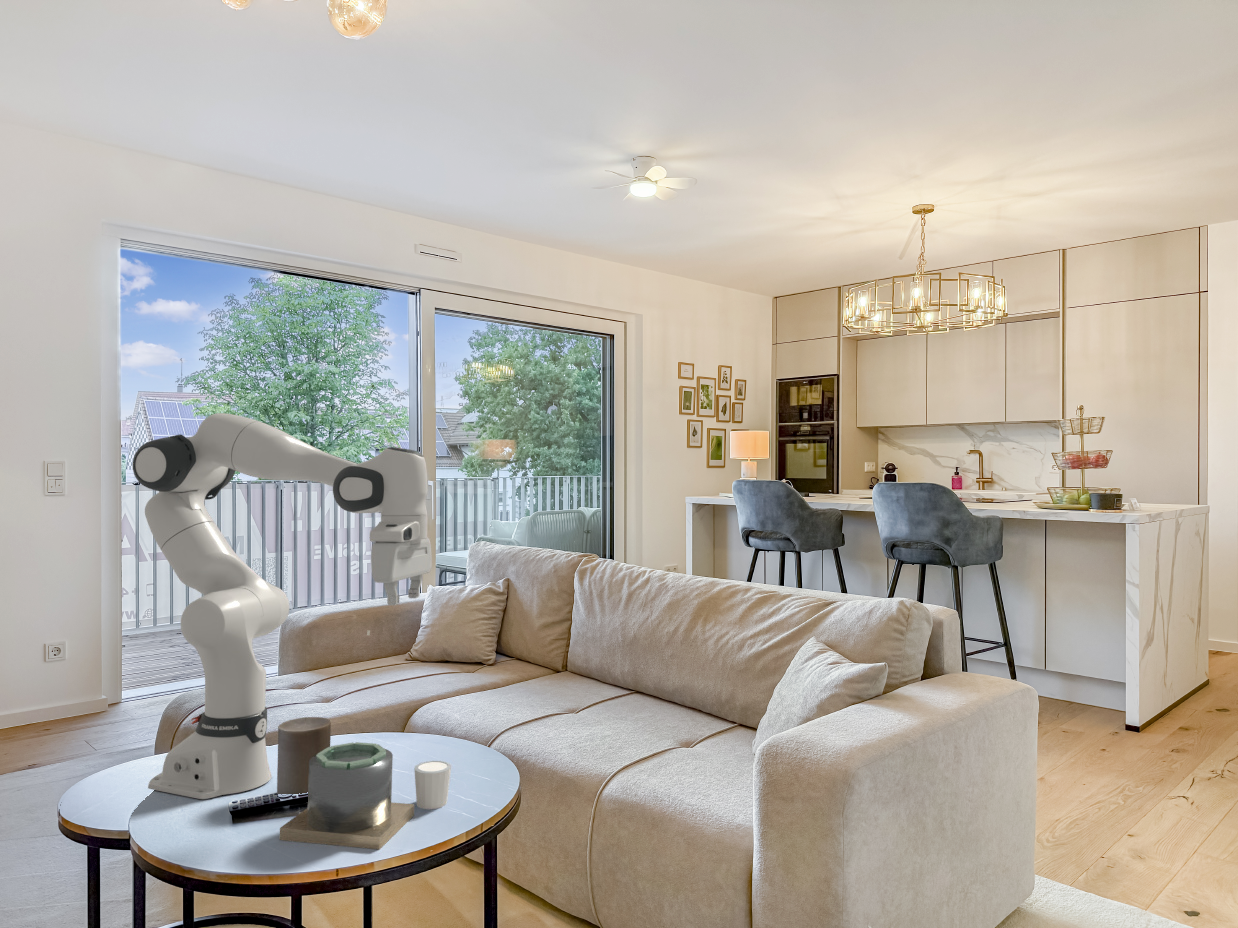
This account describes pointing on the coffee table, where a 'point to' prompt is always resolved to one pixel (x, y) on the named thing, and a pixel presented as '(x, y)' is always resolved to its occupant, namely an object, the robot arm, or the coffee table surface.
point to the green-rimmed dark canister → (349, 799)
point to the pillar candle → (299, 751)
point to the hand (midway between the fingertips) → (403, 601)
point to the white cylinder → (432, 784)
